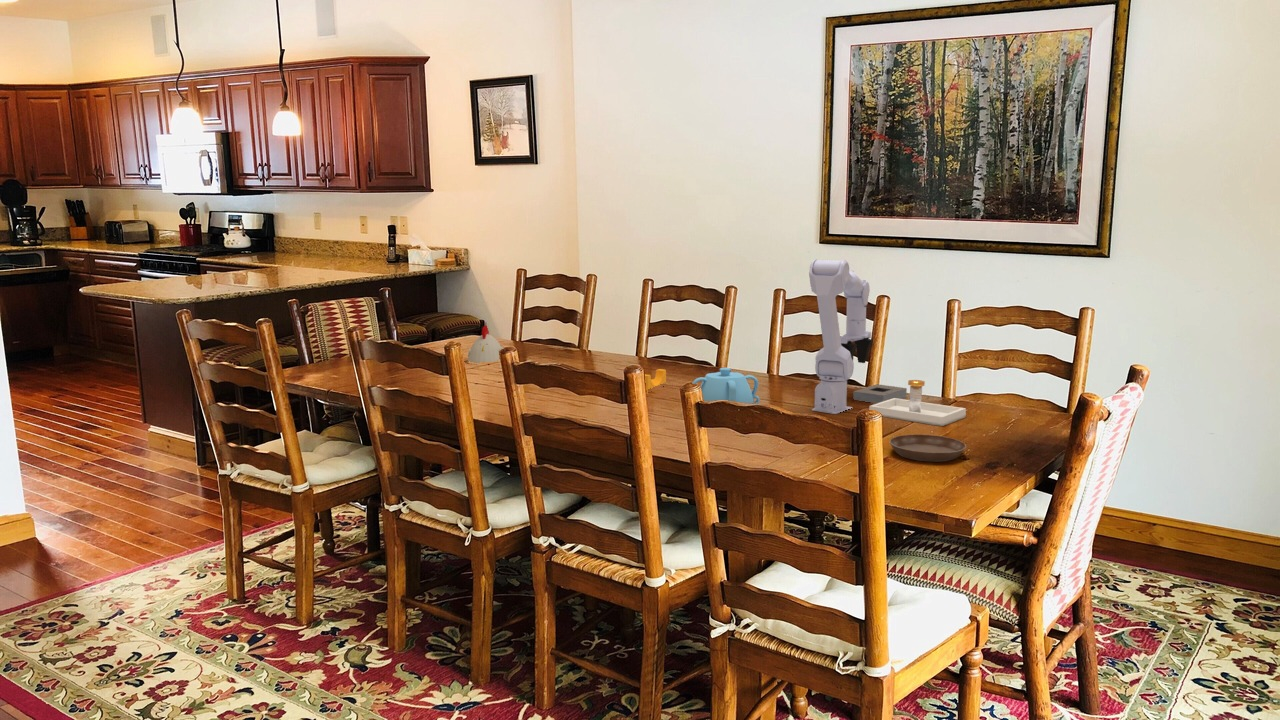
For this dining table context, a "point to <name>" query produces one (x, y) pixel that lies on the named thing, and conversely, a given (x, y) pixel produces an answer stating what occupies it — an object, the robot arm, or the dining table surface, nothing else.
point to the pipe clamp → (658, 380)
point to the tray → (928, 414)
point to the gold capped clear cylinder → (915, 395)
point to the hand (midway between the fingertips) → (855, 364)
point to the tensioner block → (879, 393)
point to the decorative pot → (728, 386)
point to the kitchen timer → (484, 348)
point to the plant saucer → (927, 447)
